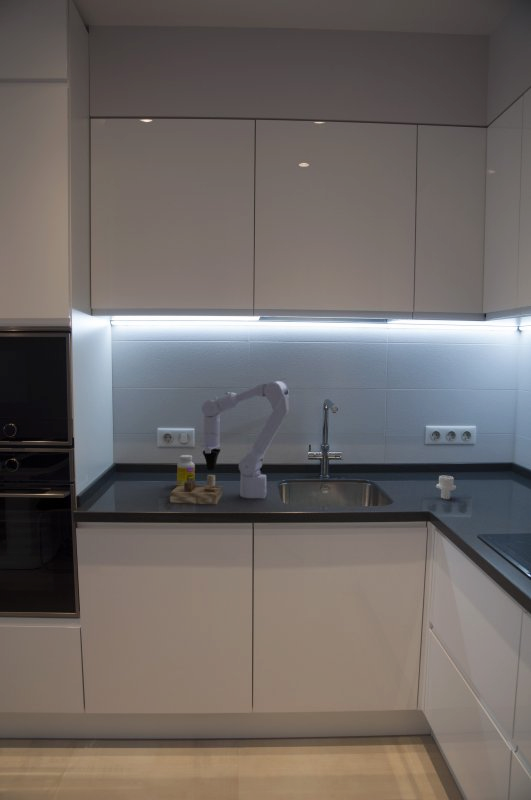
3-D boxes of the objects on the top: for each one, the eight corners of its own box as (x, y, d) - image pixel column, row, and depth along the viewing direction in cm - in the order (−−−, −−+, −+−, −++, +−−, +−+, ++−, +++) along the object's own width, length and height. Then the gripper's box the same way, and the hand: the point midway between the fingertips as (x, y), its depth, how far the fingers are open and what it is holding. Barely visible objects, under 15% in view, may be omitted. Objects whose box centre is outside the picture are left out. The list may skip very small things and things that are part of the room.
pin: (215, 493, 204) (215, 475, 204) (214, 495, 201) (214, 476, 201) (207, 493, 205) (208, 474, 204) (206, 495, 202) (206, 476, 201)
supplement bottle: (186, 492, 205) (187, 458, 204) (173, 489, 209) (173, 456, 208) (198, 488, 211) (198, 455, 210) (184, 486, 214) (185, 453, 213)
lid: (221, 490, 196) (221, 479, 195) (216, 497, 187) (217, 485, 186) (177, 488, 197) (177, 477, 197) (170, 495, 188) (171, 483, 188)
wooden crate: (221, 498, 197) (222, 486, 197) (216, 507, 186) (216, 494, 186) (178, 496, 198) (178, 484, 198) (170, 504, 188) (170, 492, 187)
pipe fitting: (434, 495, 208) (435, 474, 208) (453, 496, 207) (454, 475, 207) (436, 499, 202) (437, 478, 202) (456, 500, 201) (458, 479, 200)
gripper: (205, 429, 209) (204, 464, 210) (196, 435, 194) (196, 473, 195) (223, 430, 208) (222, 465, 209) (216, 436, 193) (215, 473, 195)
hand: (211, 469), depth 202 cm, fingers closed
